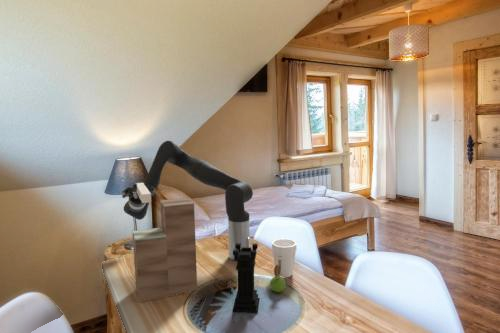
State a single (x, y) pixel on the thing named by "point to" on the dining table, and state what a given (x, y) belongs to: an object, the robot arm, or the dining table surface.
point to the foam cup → (284, 255)
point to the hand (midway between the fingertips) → (140, 185)
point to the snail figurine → (277, 278)
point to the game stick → (143, 193)
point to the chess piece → (245, 279)
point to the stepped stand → (167, 253)
